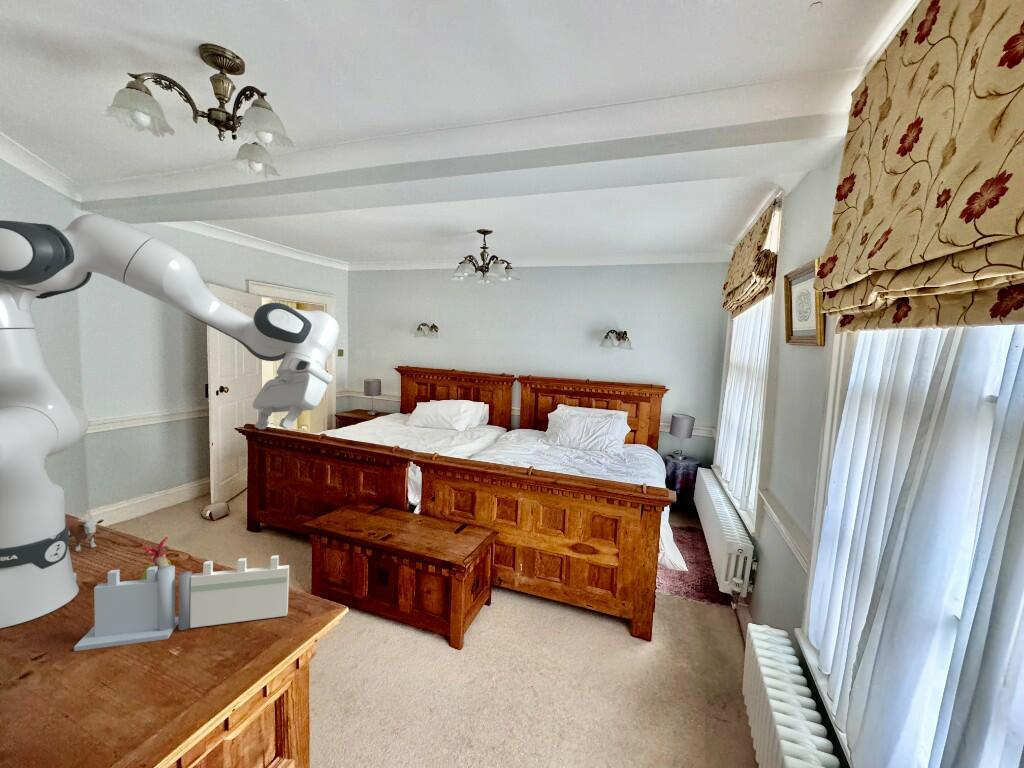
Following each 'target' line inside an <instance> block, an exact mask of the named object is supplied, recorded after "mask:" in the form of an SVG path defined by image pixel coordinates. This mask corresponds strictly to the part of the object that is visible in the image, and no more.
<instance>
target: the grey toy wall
mask: <svg viewBox="0 0 1024 768" xmlns="http://www.w3.org/2000/svg"><path fill="white" fill-rule="evenodd" d="M172 565H173V564H171V565H169V566H164V567H162V568H160V569H158V566H155V567H149V568H148V569H147V579H146V580H140V579H137V580H125V581H120V579H121V578H120V576H121V574H120V571H121V570H120V569H111V570H110V571H108V572H107V582H104V583H97V585H96V586H95V587H93V588H94V589H93V591H94V592H93V595H94V596H93V598H94V599H93V600H94V603H93V604H94V605H93V606H94V608H93V609H94V626H92V627H91V629H90V630H89V631H88V632H87V633H86V634H85V635H84V636H82V638H81V639H80V640H79V641H78V642H77V643H76V644H75V645H74V646H73V651H74V652H80V651H85V650H94V649H101V648H110V647H117V646H124V645H125V646H126V645H132V644H137V643H138V644H139V643H147V642H155V641H162V640H168V639H169V638H170V636H171V635H172V633H173V632H174V631H175V629H176V627H178V616H176V606H175V605H176V602H175V601H176V599H175V598H176V595H175V594H176V588H175V587H176V566H175V565H173V566H172Z"/></svg>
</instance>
